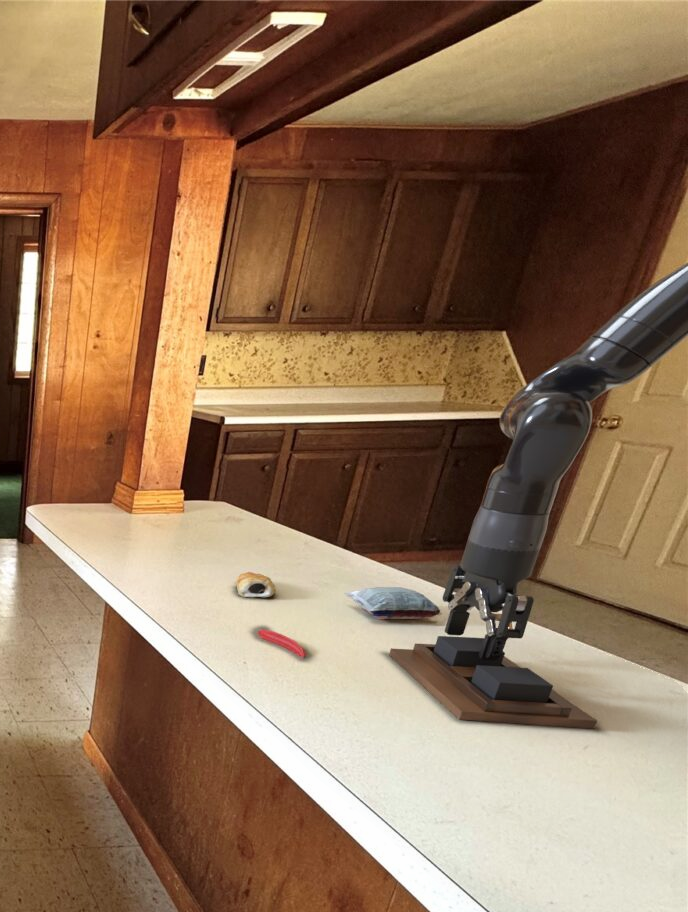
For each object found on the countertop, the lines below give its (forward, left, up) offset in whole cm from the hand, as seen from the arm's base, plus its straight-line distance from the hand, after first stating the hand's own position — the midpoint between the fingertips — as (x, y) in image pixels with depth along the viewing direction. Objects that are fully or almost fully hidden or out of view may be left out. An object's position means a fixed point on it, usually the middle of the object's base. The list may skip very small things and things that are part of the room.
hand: (470, 646), depth 97 cm
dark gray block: (0, 0, -3) cm, 3 cm away
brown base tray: (0, +5, -4) cm, 6 cm away
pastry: (+20, -31, -5) cm, 37 cm away
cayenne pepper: (+23, -7, -5) cm, 24 cm away
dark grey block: (0, +10, -3) cm, 10 cm away
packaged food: (0, -22, -5) cm, 23 cm away
